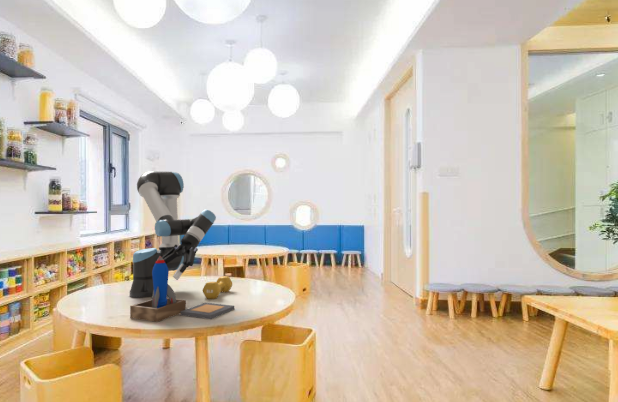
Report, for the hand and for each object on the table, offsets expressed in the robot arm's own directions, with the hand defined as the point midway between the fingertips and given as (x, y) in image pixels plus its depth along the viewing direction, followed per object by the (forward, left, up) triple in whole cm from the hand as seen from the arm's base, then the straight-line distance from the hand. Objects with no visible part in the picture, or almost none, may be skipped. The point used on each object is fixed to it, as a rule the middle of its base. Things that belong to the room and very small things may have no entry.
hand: (164, 277), depth 166 cm
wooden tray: (-2, -2, -16) cm, 16 cm away
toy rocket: (-2, -2, -16) cm, 16 cm away
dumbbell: (-1, +37, -16) cm, 40 cm away
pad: (+15, +9, -16) cm, 24 cm away
